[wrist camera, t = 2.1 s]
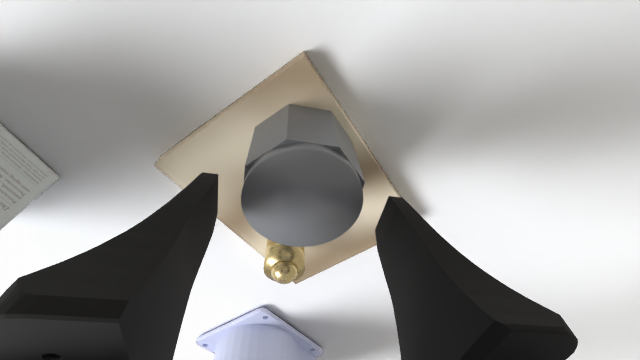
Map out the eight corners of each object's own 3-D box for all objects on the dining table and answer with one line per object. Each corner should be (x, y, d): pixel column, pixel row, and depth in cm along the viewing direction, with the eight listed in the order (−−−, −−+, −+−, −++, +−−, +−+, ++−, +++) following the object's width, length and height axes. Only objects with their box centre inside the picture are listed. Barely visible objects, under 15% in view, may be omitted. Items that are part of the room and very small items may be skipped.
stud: (311, 237, 21) (313, 283, 18) (282, 252, 21) (280, 298, 18) (289, 216, 20) (288, 260, 17) (259, 232, 20) (253, 278, 17)
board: (412, 215, 21) (417, 225, 21) (295, 273, 24) (295, 284, 23) (303, 51, 15) (304, 56, 14) (160, 155, 18) (154, 165, 17)
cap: (365, 161, 18) (384, 213, 14) (291, 203, 19) (290, 261, 15) (314, 86, 15) (319, 126, 11) (232, 142, 16) (213, 193, 13)
